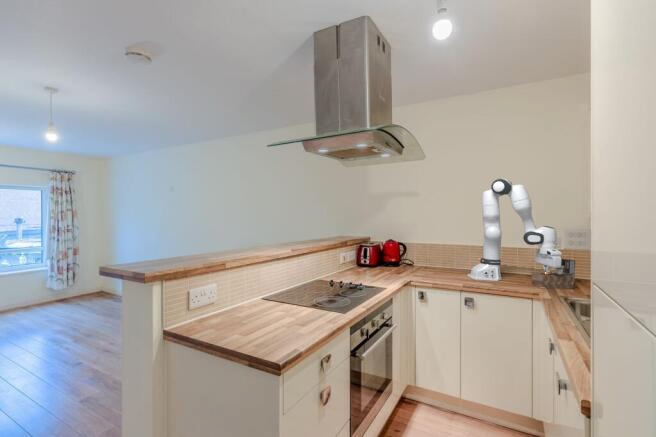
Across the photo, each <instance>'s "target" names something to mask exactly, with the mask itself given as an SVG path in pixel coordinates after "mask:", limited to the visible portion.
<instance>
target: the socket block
mask: <svg viewBox="0 0 656 437" xmlns="http://www.w3.org/2000/svg"><path fill="white" fill-rule="evenodd" d="M573 282H574V283H575V278H574V277H573V276H570V275H567V274H564V273H563V274H562V275H555V272H552V274H550V275H543V274H542V273H541V272H534V271H533V272H531V285H532V284H534V285H533V286H535V285H537V286H539V287H545V288H544V289H550V290H551V289H560V290H573V289H574V284H573ZM537 286H536V287H537ZM539 287H538V288H539Z"/></svg>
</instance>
